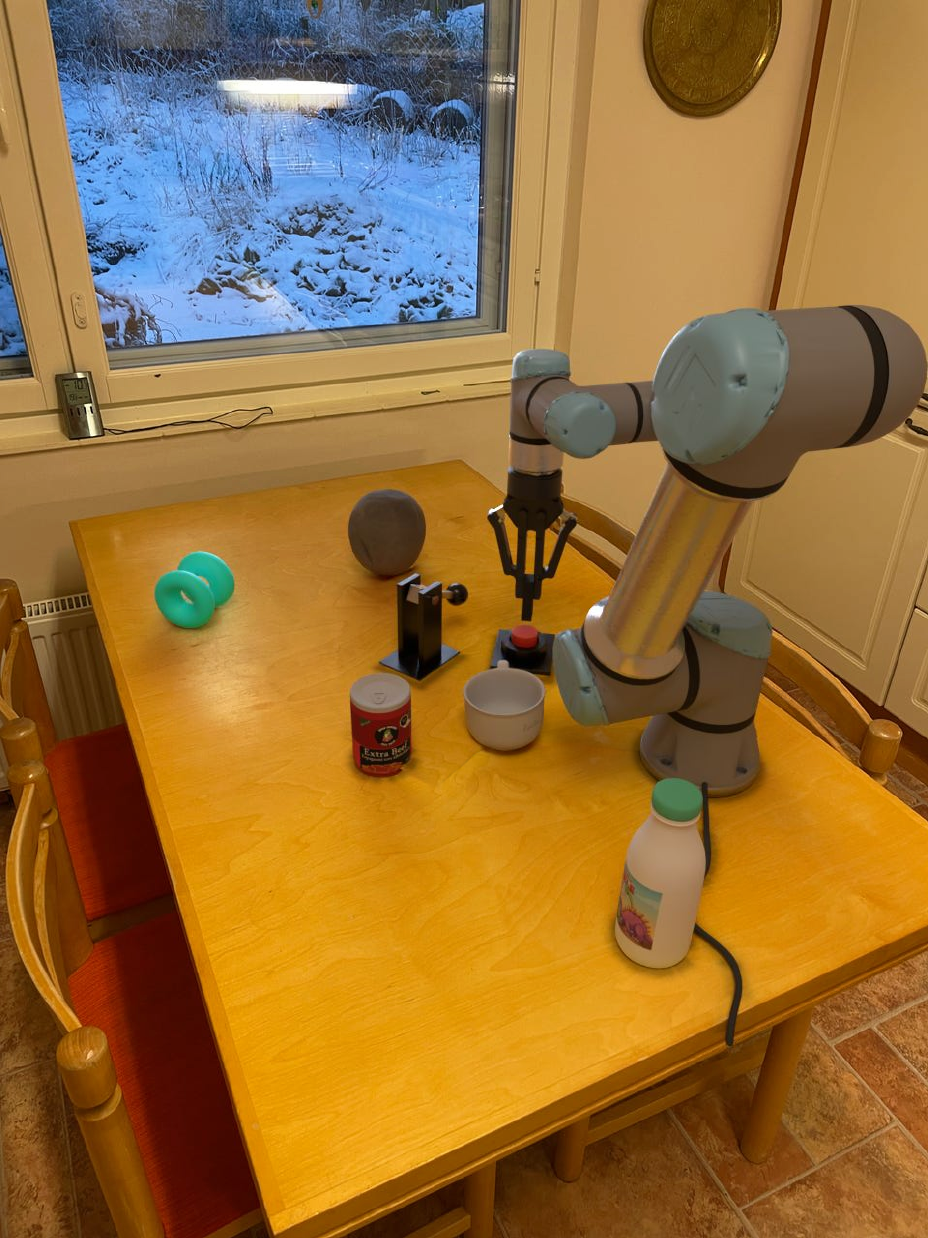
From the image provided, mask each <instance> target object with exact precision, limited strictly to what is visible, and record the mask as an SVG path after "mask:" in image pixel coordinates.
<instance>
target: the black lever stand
mask: <svg viewBox="0 0 928 1238" xmlns="http://www.w3.org/2000/svg"><path fill="white" fill-rule="evenodd" d="M410 584H421V585H422V577H421V574H419V573H414V574H412V575H410V576H408V577H406V578H405V579H403V580H402V581H399V582H398V583H396V608H397V609H396V611H397V613H396V614H397V649H396V650H395V651H392V653H389V654H388V655H387V656H385V657H383V658H382V659H381V660H379V661H378V664H380V665H382V666H385V667H387V668H389V669H391V670H394V671H396V672H398V673H401V674H403V675H405V676H407V677H408V678H409V677H410V678H412V679H414V680H416V681H418V682H421V681H423V680H424V679H425V678H427V677H428V676H429V675H431V674H433V673H434V672H435V671H436V670H438V669H439V668H441V667H442V666H443V665H445V664H446V663H448V662H449V661H451V660H452V659H454V658H455V657H456V656H458V655H459V654H460V653H461V651H460V650H458V649H455V648H454V647H451V646H448V645H445V644H443V641H442V640H443V639H442V638H443V635H442V634H443V598H442V590H443V582H441V581H434V582H433V583H431V584H429V585H428V586H427V587H426V588H425V589H423V590H421V591H420V592H418V604H416V603H413V602H411V601H408V600H407V595H408V592H409V588H410Z"/></svg>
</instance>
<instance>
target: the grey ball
mask: <svg viewBox="0 0 928 1238" xmlns="http://www.w3.org/2000/svg"><path fill="white" fill-rule="evenodd" d="M347 522H348V523H347V537H348V541H349V545H350V546H349V547H350V549H351V551H352V554H353V555H354V557H355V559H356V560H357V561H358V562H359V564H360V565H361V566H362V567H363V568H365V570H367V571H368V572H371V573H372V574H375V575H382V576H388V577H394V576H399V575H402V574H403V573H405V572H406V571H407V570H409V569H410V568H411V567H412V566H413V565H414V564H415V562H416V561H418V558H419V557H420V555H421V552H422V550H423V547H424V545H425V541H426V536H427V535H426V534H427V523H426V516H425V513H424V510H423V508H422V507H421V505H420V504H419V502H417V500H416V499H415V498H414V497H413V496H412V495H410V494H408V493H407V492H404V491H402V490H399V489H393V488H385V489H379V490H378V489H377V490H372V491H370V492H368V493H366V494H364V495H363V496H362V497H360V498H359V499H358V500H357V501H356V502H355V504H354V505H353V507H352V510H351V511H350V514H349V517H348V521H347Z"/></svg>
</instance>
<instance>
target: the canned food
mask: <svg viewBox="0 0 928 1238" xmlns="http://www.w3.org/2000/svg"><path fill="white" fill-rule="evenodd" d="M349 712H350V729H351V742H352V743H351V745H352V758H353V761H354V763H355V766H356V767H357V769H358V770H359V771H360V772H362V773H363V774H364V775H367V776H371V777H373V778H386V777H387V778H388V777H392V776H395V775H397V774H399V773H401V772H403V769H402V768H403V767H405V765H407V764H408V762H409V761H410V759H411V757H412V692H411V686H410V684H409V682H408V681H407V680H406V679H405V678H403V677H401V676H400V675H397V674H394V673H389V672H375V673H369V674H366V675H363V676H362V677H359V678H358V679H356V680H355V681H354V682H353V683H352V685H351V687H350V689H349Z"/></svg>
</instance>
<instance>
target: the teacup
mask: <svg viewBox="0 0 928 1238" xmlns="http://www.w3.org/2000/svg"><path fill="white" fill-rule="evenodd" d="M546 690H547V689H546V686H545V684H544V682H543V681H542V679H540V677H538V676H536V674H531V673H529V672H527V671H524V670H520V669H513V668H509V663H508V661H506V660H500V661H498V663H497V668H495V669H487V670H483V671H480V672H477V673H476V674H474V675H473V676H471V677H470V678H469V679H468V680H466V682H465V684H464V686H463V689H462V697H463V699H464V701H463V703H464V714H465V715H464V717H465V722H466V726H467V729H468V732H469V734H470V735H471V737H472V738H473V739H474V740H475V741H476V742H478V743H479V744H481V745H483V746H485V747H486V748H490V749H492V750H495V751H500V752H501V751H502V752H506V751H507V752H508V751H509V752H510V751H514V750H518V749H520V748H522V747H525V746H527V745H529V744H530V743H531V742H533V741H534V740H535V739H536V738H537V737H538V735H539V734H540V732H541V730H542V727H543V725H544V717H545V699H546V694H547V693H546Z"/></svg>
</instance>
